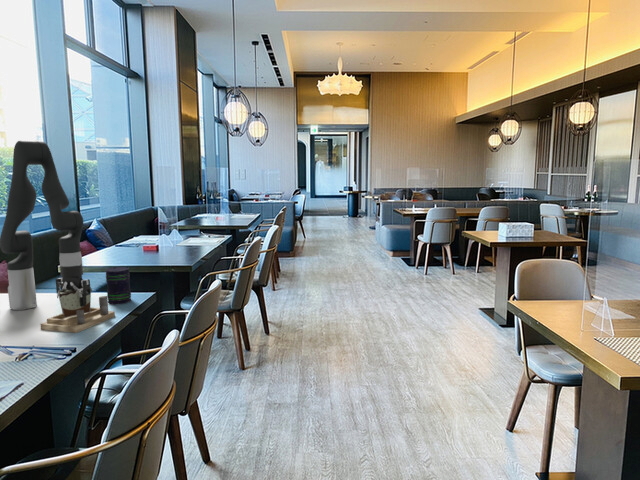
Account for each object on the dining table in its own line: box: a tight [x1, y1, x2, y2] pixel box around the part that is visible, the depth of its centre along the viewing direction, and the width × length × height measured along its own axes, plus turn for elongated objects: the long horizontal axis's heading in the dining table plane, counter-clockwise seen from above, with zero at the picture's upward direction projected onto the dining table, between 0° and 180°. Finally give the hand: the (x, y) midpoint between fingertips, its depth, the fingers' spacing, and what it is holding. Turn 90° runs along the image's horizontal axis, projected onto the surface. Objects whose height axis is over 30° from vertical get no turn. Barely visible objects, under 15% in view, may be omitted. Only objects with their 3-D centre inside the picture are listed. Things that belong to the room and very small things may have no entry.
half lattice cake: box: [56, 286, 93, 318], centre depth 174 cm, size 12×6×10 cm, turn 136°
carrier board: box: [39, 295, 116, 334], centre depth 174 cm, size 16×20×9 cm
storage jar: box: [105, 266, 132, 305], centre depth 203 cm, size 10×10×15 cm
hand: (74, 305), depth 174 cm, fingers open, 7 cm apart
